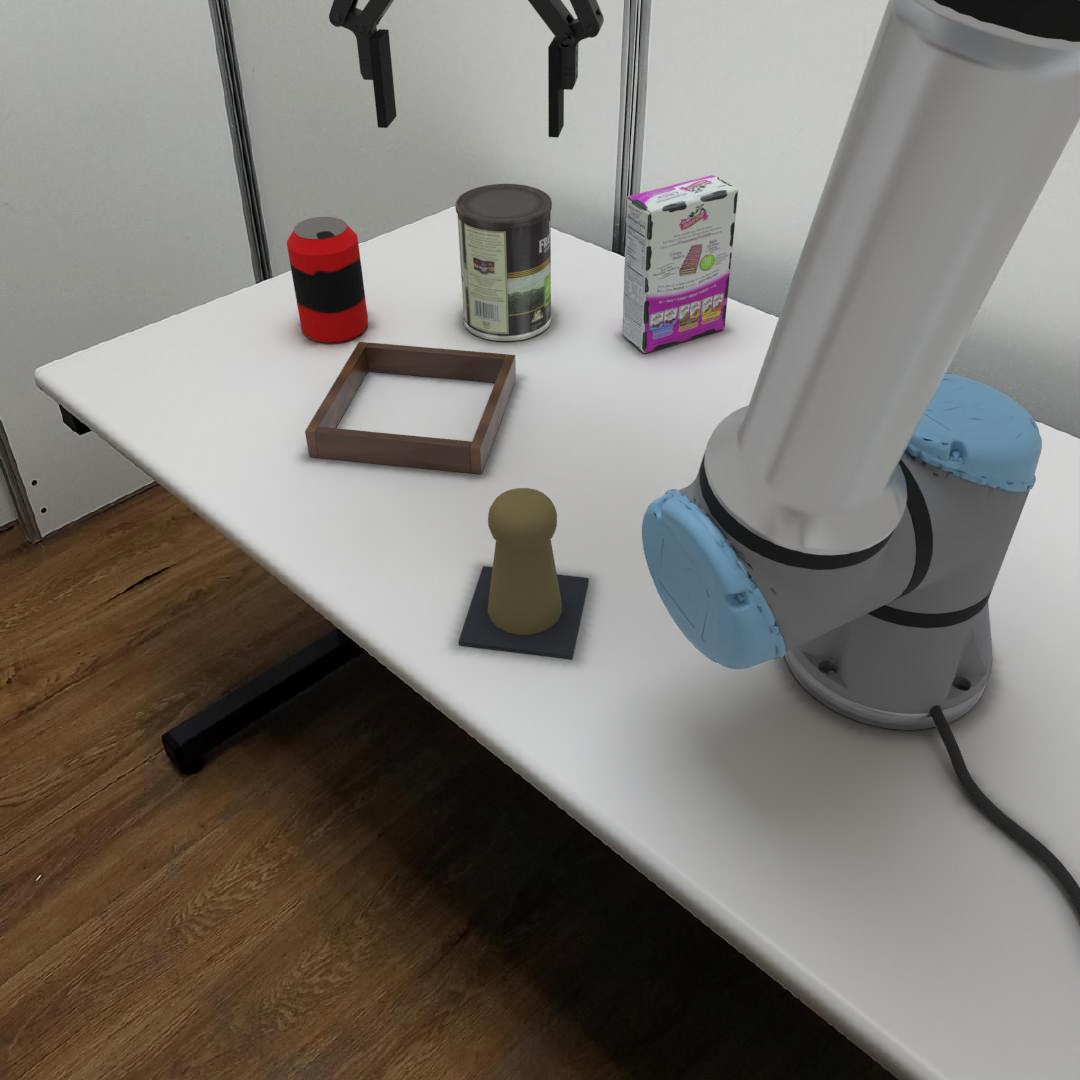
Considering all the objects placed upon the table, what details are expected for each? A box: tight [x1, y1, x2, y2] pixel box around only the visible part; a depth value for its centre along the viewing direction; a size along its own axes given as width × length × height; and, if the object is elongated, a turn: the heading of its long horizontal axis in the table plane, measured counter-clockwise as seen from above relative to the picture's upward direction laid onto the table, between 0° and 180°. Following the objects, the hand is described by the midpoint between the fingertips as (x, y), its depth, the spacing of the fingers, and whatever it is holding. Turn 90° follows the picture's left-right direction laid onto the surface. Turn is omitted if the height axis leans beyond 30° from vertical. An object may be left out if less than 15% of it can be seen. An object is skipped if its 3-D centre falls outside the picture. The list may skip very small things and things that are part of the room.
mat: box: [458, 565, 589, 660], centre depth 86 cm, size 9×9×1 cm
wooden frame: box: [304, 341, 517, 475], centre depth 107 cm, size 17×17×3 cm
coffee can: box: [454, 183, 553, 342], centre depth 118 cm, size 10×10×14 cm
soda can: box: [286, 216, 369, 344], centre depth 118 cm, size 8×8×12 cm
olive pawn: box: [487, 487, 562, 635], centre depth 82 cm, size 6×6×11 cm
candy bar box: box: [622, 174, 739, 354], centre depth 115 cm, size 11×5×16 cm, turn 119°
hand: (470, 127), depth 84 cm, fingers open, 13 cm apart
